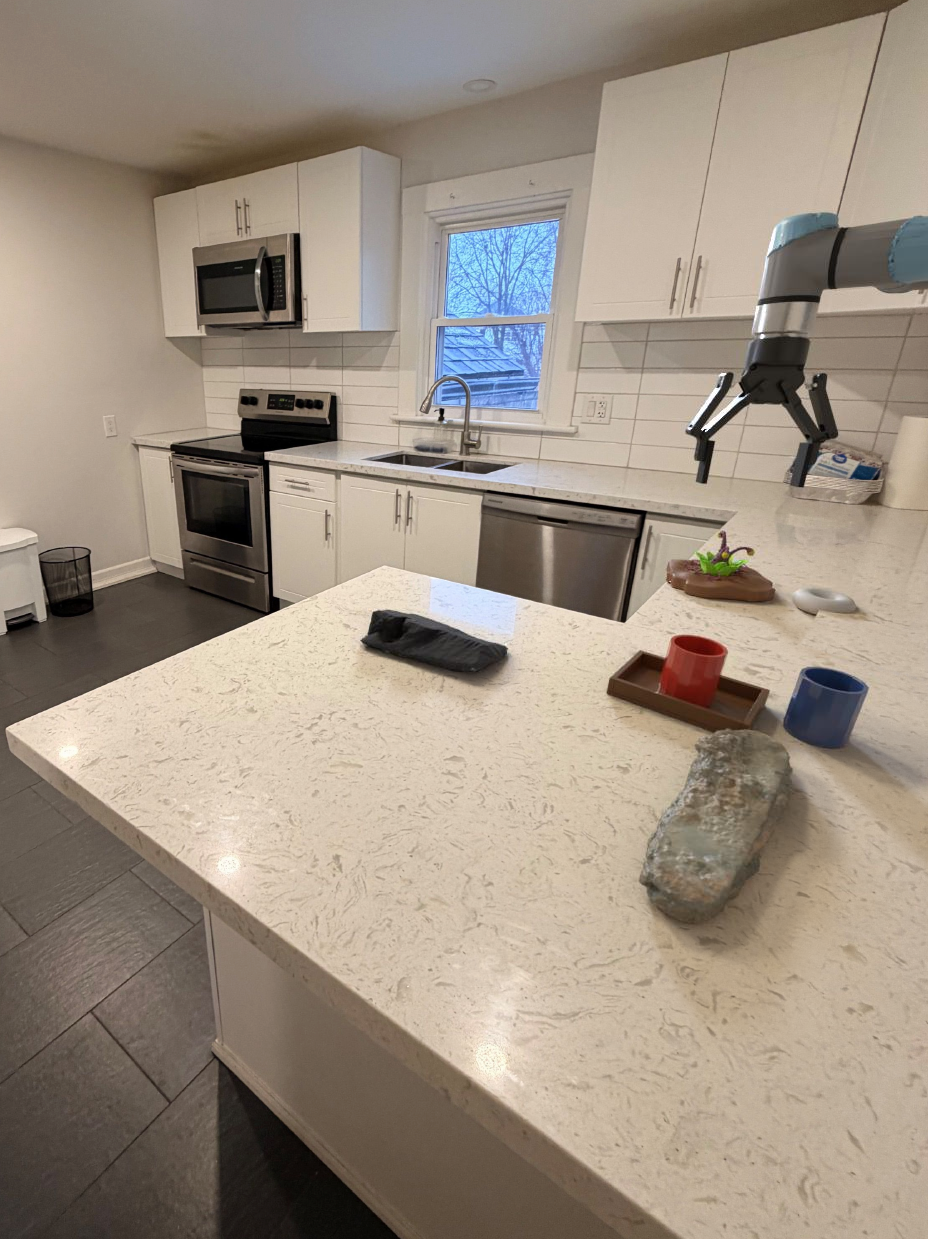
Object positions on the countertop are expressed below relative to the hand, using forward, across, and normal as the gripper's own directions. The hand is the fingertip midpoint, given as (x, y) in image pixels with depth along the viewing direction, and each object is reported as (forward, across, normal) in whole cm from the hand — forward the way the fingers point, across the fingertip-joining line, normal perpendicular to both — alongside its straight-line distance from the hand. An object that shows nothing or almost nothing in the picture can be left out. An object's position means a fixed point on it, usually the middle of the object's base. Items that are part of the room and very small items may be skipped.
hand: (748, 484), depth 100 cm
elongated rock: (+31, +15, +47) cm, 58 cm away
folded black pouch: (+27, +46, +12) cm, 55 cm away
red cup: (+28, +10, +20) cm, 36 cm away
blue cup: (+29, -4, +26) cm, 39 cm away
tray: (+28, +10, +20) cm, 36 cm away
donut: (+26, -27, -23) cm, 43 cm away
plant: (+25, -11, -33) cm, 43 cm away
